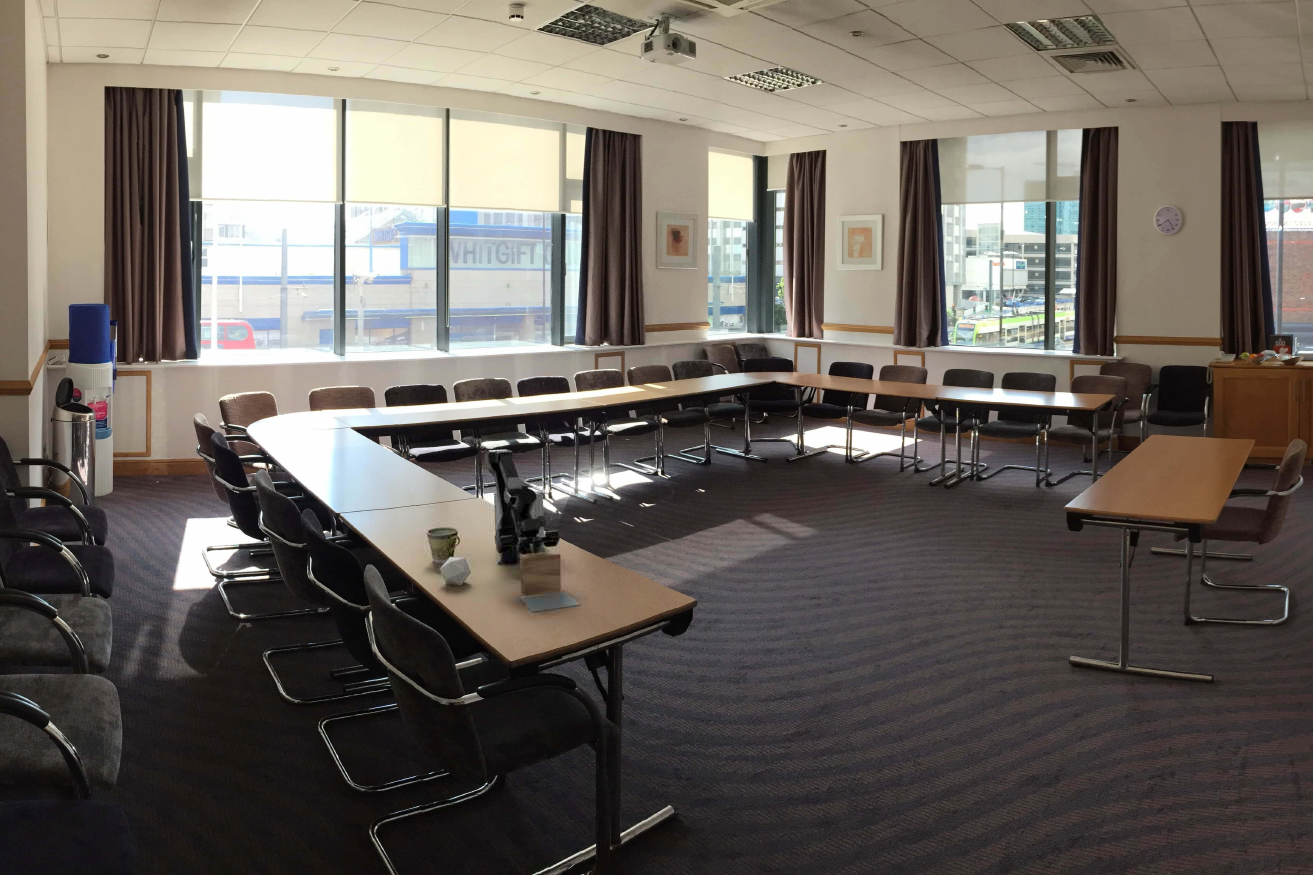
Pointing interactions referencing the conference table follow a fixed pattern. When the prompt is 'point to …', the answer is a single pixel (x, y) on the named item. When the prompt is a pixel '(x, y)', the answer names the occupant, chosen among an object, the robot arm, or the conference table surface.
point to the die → (455, 571)
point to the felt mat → (549, 601)
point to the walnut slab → (540, 574)
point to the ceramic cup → (442, 543)
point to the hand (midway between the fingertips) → (535, 565)
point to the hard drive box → (535, 512)
